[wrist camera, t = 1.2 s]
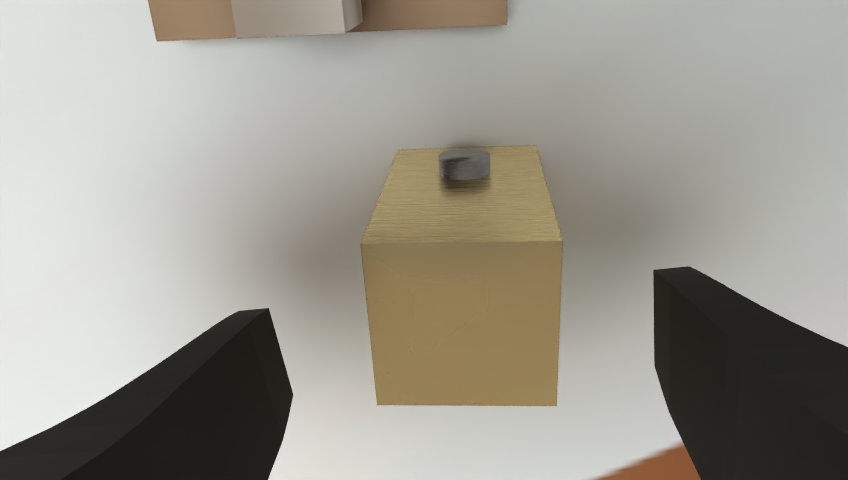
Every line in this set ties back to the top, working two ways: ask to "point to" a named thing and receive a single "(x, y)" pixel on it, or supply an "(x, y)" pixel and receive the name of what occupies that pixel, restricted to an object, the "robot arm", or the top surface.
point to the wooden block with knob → (464, 280)
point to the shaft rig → (314, 16)
